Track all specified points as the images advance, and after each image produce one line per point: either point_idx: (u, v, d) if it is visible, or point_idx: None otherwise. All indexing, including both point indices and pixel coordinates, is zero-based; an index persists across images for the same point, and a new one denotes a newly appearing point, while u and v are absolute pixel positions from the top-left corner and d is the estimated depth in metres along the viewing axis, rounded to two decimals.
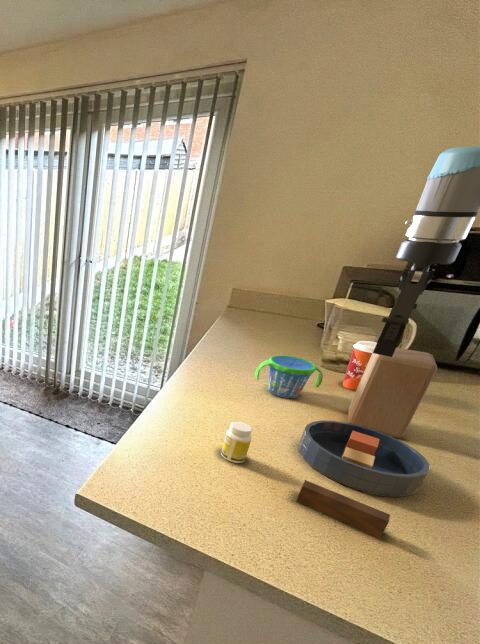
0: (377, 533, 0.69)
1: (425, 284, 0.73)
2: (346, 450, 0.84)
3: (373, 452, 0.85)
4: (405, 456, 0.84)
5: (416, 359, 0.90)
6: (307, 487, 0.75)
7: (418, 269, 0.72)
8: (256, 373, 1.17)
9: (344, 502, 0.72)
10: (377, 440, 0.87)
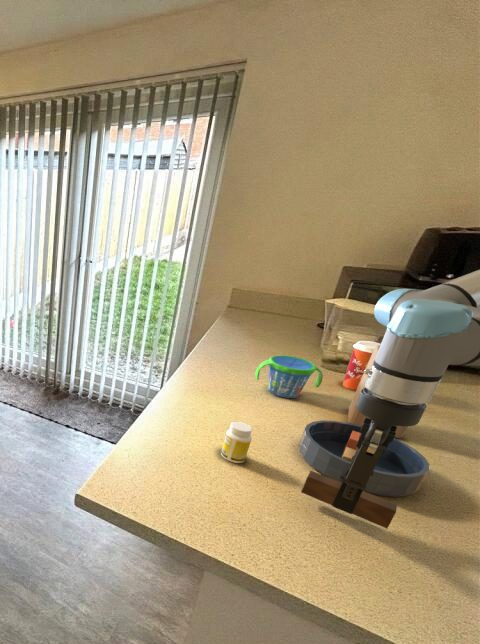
0: (384, 523, 0.68)
1: (385, 446, 0.65)
2: (346, 450, 0.84)
3: None
4: (405, 456, 0.84)
5: None
6: (313, 477, 0.74)
7: (378, 428, 0.64)
8: (256, 373, 1.17)
9: None
10: None
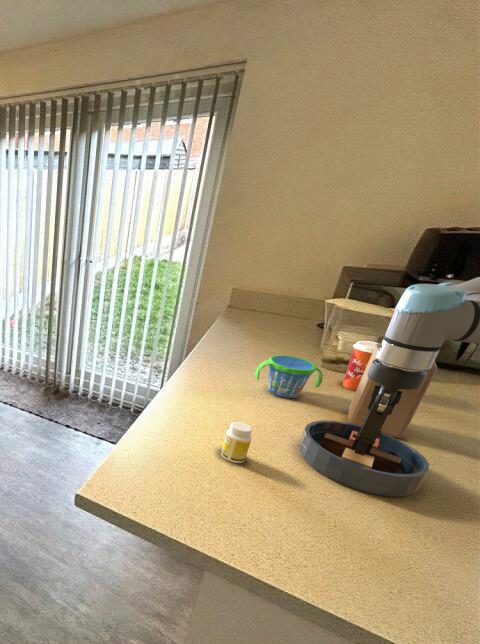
0: None
1: (392, 407, 0.77)
2: (345, 451, 0.84)
3: None
4: (405, 456, 0.84)
5: None
6: (328, 438, 0.87)
7: (386, 392, 0.76)
8: (256, 373, 1.17)
9: None
10: (377, 440, 0.87)
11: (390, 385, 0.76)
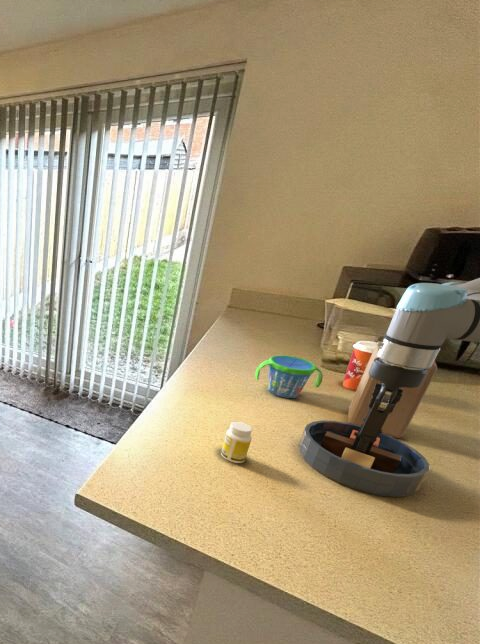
0: (390, 472, 0.82)
1: None
2: None
3: None
4: (405, 456, 0.84)
5: None
6: (329, 436, 0.88)
7: (388, 390, 0.77)
8: (256, 373, 1.17)
9: None
10: (377, 439, 0.87)
11: (391, 383, 0.76)
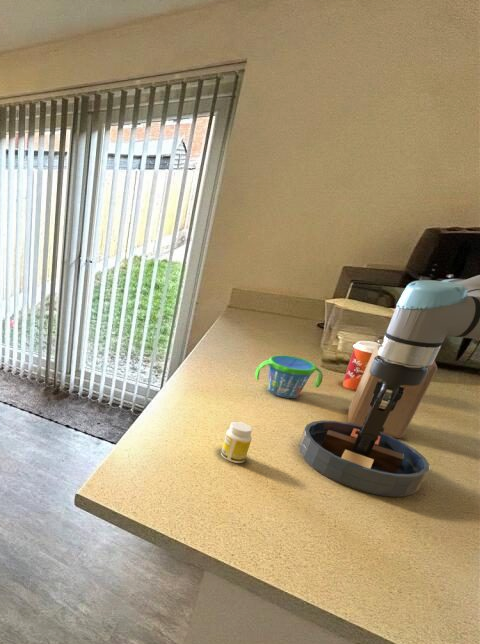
0: (392, 470, 0.81)
1: (394, 404, 0.78)
2: (345, 452, 0.83)
3: None
4: (405, 456, 0.84)
5: None
6: (331, 435, 0.87)
7: (389, 388, 0.77)
8: (256, 373, 1.17)
9: None
10: (378, 437, 0.88)
11: (392, 381, 0.76)
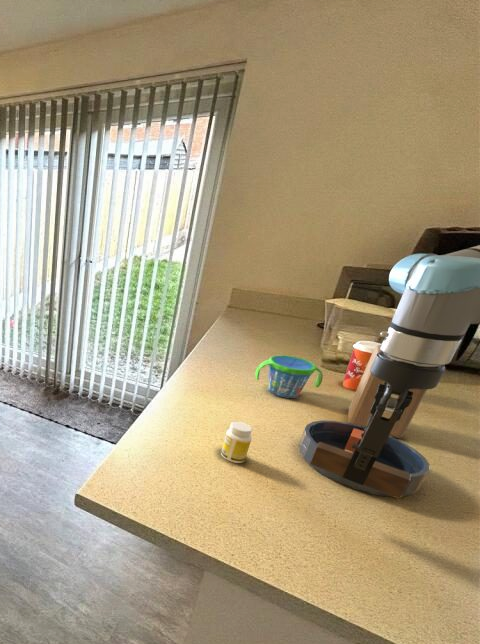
0: (397, 494, 0.66)
1: None
2: None
3: None
4: (405, 456, 0.84)
5: None
6: (322, 448, 0.72)
7: (394, 392, 0.61)
8: (256, 373, 1.17)
9: None
10: None
11: (399, 384, 0.60)
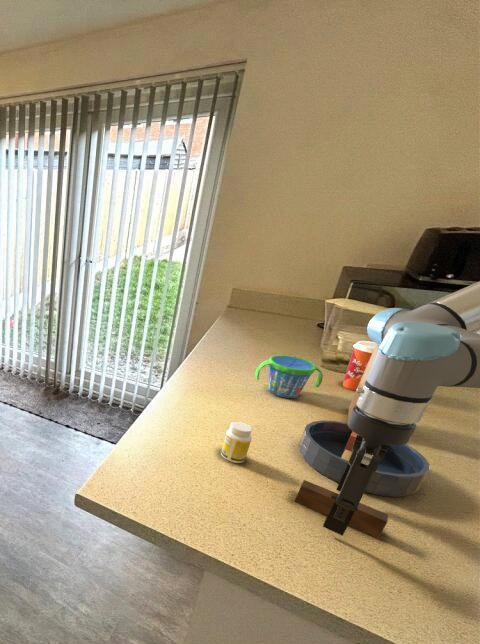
0: (375, 533, 0.69)
1: (377, 463, 0.65)
2: (345, 452, 0.83)
3: None
4: (405, 456, 0.84)
5: None
6: (306, 487, 0.75)
7: (369, 447, 0.65)
8: (256, 373, 1.17)
9: None
10: None
11: (373, 439, 0.64)
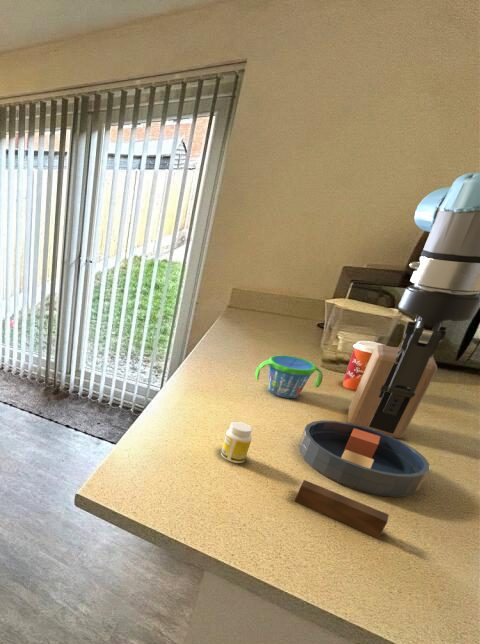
0: (375, 533, 0.69)
1: (435, 345, 0.57)
2: (345, 452, 0.83)
3: (374, 449, 0.86)
4: (405, 456, 0.84)
5: None
6: (306, 487, 0.75)
7: (427, 326, 0.56)
8: (256, 373, 1.17)
9: (343, 502, 0.72)
10: (378, 437, 0.88)
11: (432, 316, 0.56)
